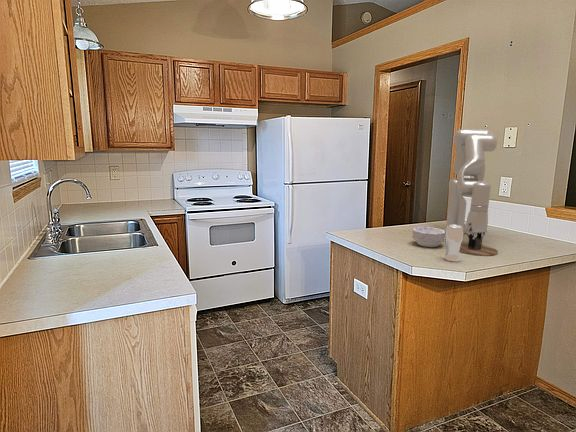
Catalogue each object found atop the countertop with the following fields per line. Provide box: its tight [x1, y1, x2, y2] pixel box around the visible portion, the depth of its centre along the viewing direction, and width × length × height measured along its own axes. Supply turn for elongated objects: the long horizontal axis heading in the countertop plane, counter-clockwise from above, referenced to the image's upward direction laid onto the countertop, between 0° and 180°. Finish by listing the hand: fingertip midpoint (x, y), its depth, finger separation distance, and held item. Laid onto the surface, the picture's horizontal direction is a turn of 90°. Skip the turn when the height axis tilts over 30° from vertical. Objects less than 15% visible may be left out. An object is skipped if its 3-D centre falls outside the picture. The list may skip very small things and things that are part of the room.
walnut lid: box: [459, 236, 499, 257], centre depth 185 cm, size 20×20×6 cm
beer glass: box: [444, 225, 464, 263], centre depth 167 cm, size 7×7×15 cm
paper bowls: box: [411, 226, 446, 248], centre depth 192 cm, size 15×15×8 cm
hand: (474, 246), depth 185 cm, fingers closed on walnut lid, 4 cm apart
